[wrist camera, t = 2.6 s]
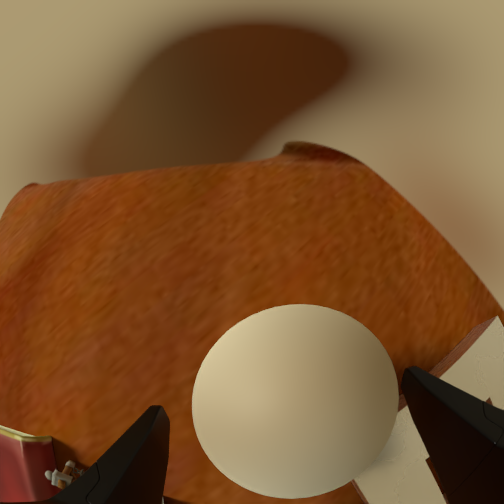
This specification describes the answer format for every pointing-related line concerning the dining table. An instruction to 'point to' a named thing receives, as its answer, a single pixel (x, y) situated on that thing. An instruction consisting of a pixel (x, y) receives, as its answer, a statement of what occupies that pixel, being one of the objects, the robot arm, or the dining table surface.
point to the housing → (405, 432)
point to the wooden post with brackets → (65, 475)
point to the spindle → (295, 401)
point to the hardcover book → (25, 467)
